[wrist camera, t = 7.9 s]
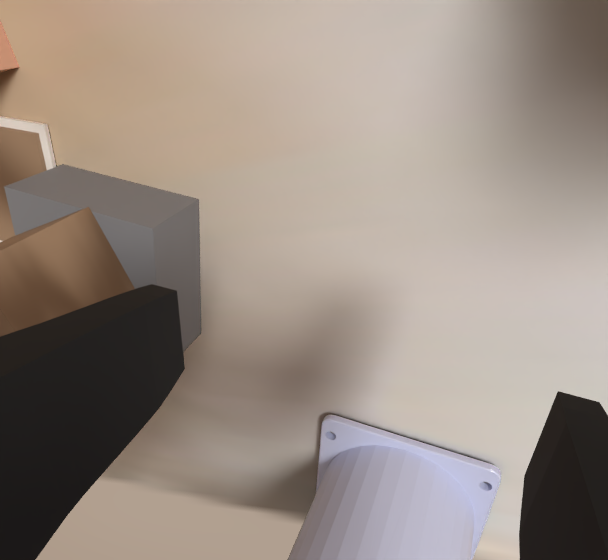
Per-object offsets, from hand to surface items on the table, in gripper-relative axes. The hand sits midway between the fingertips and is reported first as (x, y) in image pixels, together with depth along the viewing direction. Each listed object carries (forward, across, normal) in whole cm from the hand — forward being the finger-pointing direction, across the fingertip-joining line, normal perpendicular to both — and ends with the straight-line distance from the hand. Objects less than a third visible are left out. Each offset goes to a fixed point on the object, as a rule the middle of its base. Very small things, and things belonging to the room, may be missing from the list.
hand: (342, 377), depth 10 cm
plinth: (+10, +13, +5) cm, 17 cm away
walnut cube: (+7, +13, +5) cm, 16 cm away
